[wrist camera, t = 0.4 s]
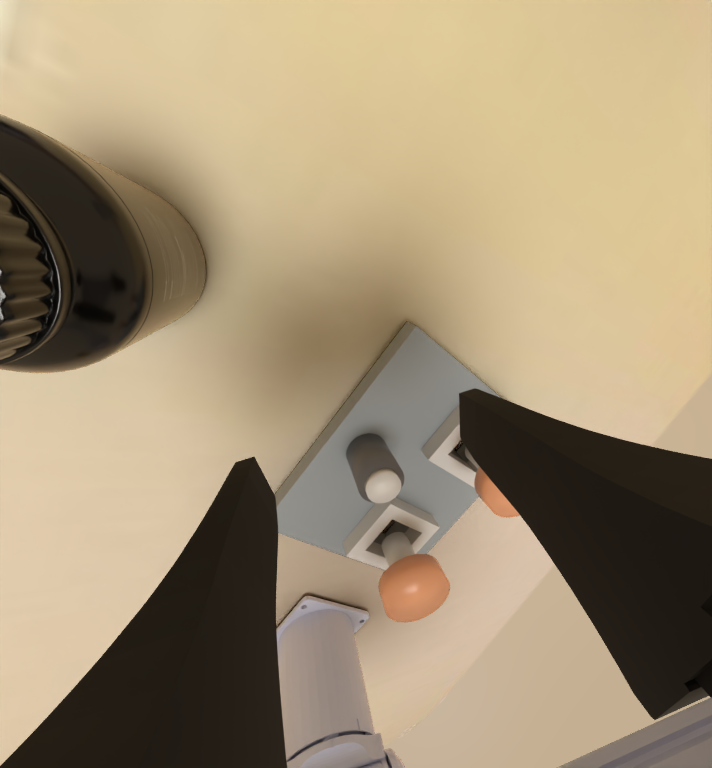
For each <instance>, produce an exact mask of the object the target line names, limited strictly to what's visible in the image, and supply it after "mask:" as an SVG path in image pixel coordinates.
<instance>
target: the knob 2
mask: <svg viewBox="0 0 712 768" xmlns="http://www.w3.org/2000/svg"><path fill="white" fill-rule="evenodd" d="M465 455H466V457H467V458H468V459H469V460H470V461H471V462H472V463H473V464H474V465H475V466H476V467H477V468H478V470H477V473H476V476H475V481H474V486H475V490H476V493H477V494H478V496H479V497H480V498H481V499H482V500H483V501H484V502H485V504H486V505H487V506H488V507H489V508H490V509H491V510H492V512H493V513H495V514H496V515H498V516H501V517H515V516H518V515H520V514H519V513H518V512H517V511H516V510H515V508H514V507H513V506H512V505H511V504H510V502H509V501H508V500H507V499H506V498H505V496H504V495H503V494H502V493H501V492H500V490H499V489H498V488H497V487H496V486H495V485H494V483H493V482H492V481H491V480H490V479H489V477H488V476H487V475H486V474H485V473H484V471H483V470H482V469H481V468H480V466H479V465H478V464H477V463H476V461H475V460H474V459H473V457H472V456H471V454H470V452H469V451H468V449H467V448H465Z"/></svg>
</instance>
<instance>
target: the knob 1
mask: <svg viewBox="0 0 712 768" xmlns="http://www.w3.org/2000/svg"><path fill="white" fill-rule="evenodd" d="M382 550H383V553H384V555H385V558H386V561H387V563H388V566H389V567H388V568H387V569H386V571H385V572H384V573H383V575H382V576H381V578H380V581H379V592H380V595H381V599H382V602H383V605H384V608H385V611H386V614H387V616H388V617H389V618H390V619H392V620H394V621H397V622H412V621H416V620H419V619H421V618H424V617H426V616H428V615H429V614H431V613H433V612H434V611H435V610H437V609H438V608H439V607H440V606H441V605H442V604H443V603H444V601H445V600H446V598H447V596H448V594H449V591H450V584H449V581H448V580H447V578H446V576H445V574H444V572H443V570H442V568H441V567H440V565H439V563H438V561H437V560H436V559H435V558H434V557H432V556H430V555H427V554H415V552H414V550H413V548H412V546H411V543H410V541H409V539H408V537H407V535H406V534H405V533H402V532H395V533H392V534H390V535H388V536H387V537H386V538H385V539H384V540H383V542H382Z"/></svg>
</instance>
